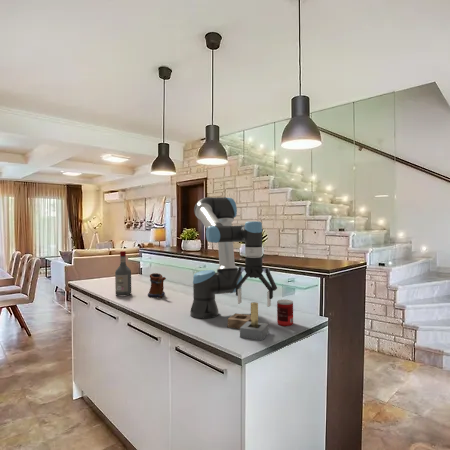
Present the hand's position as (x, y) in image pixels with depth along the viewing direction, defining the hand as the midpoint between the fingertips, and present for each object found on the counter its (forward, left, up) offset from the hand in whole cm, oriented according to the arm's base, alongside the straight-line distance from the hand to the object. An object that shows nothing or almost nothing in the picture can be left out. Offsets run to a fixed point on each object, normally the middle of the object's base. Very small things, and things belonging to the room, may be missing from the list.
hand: (254, 304), depth 143 cm
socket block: (0, 0, -13) cm, 13 cm away
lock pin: (0, 0, -13) cm, 13 cm away
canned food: (+9, +20, -14) cm, 26 cm away
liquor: (-110, +43, -14) cm, 119 cm away
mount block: (-10, +10, -13) cm, 19 cm away
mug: (-83, +46, -14) cm, 96 cm away
